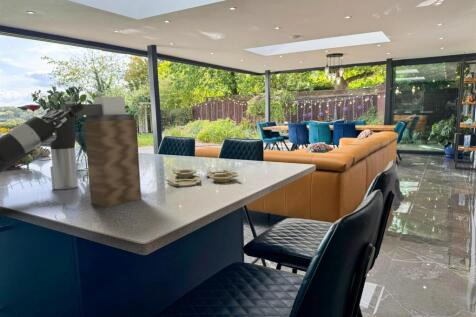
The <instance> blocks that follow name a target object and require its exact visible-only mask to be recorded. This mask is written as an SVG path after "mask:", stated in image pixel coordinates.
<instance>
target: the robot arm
mask: <svg viewBox="0 0 476 317" xmlns="http://www.w3.org/2000/svg"><path fill="white" fill-rule="evenodd" d="M71 104H75V105H74V106H72V107H71V108H68V109H67V110H65V111H61V108H60V109H56V110H51V111H48V112H46V113H45V114H44V115H42V116H41V117H40V116H38V115H36V116H33V117H31V118H30V119H28V120H26V121H25V122H22V123H21V124H19V125H18V126H16V127H14V128H12V129H11V130H10V131H8V132H7V133H6V134H4V135H2V136H0V174H1V173H3V172H4V171H6V170H7V169H9V168H10V167H13V166H14V165H16V164H17V163H18V162H20V161H22V160H23V159H25V158H26V157H28V156H29V155H31V154H32V153H33V152H34V151H35V150H36V149H37V148H38V147H39V146H41V145H42V144H45V143H46V142H47V141H49V140H50V139H52V138H53V137H54V134H56V136H55V139H53V140H52V141H50V155H51V164H52V165H51V166H50V177H51V178H50V179H51V180H50V181H51V188H52V189H55V190H69V189H74V188H75V189H76V188H77V187H79V183H78V182H79V181H78V170H77V169H78V168H77V158H76V148H75V147H76V146H75V144H76V141H77V132H76V130H77V129H76V128H77V125H76V119H75V117H76V116H77V115H75V114H76V113H77V112H79V111H80V110H82V109H83V108H84V107H83V105H82V104H83V103H81V102H77V103H74V102H73V103H71ZM61 114H62V115H61ZM69 114H70V115H69Z"/></svg>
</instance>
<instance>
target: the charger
mask: <svg viewBox="0 0 476 317" xmlns="http://www.w3.org/2000/svg"><path fill="white" fill-rule="evenodd" d="M75 104H76V103H75ZM75 104H72V103H63V104H62V103H61V104H59V105H60V106H59V107H60V109H61V111H65V110H67V109H68V108H71V107H72V106H74V105H75ZM81 104H82V105H83V107H84V108H83V109H82V110H80V111H79V112H77V113H76V114H75V115H76V116H86V115H120V114H126V104H125V96H124V97H123V96H97V97H96V96H95V97H93V104H92V103H90V104H88V103H86V104H85V103H84V104H83V103H81ZM61 115H62V114H61ZM69 115H70V114H69Z"/></svg>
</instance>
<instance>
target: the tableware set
mask: <svg viewBox="0 0 476 317" xmlns="http://www.w3.org/2000/svg"><path fill="white" fill-rule="evenodd" d="M171 170H172V171H173V172H172V174H174V175H176V176H177V178H178V177H179V178H178V179H172V178H168V179H165V182H167V183H169V185H170V186H173V187H180V188H181V187H185V188H187V187H193V186H196V185H199V184H200V183H201V182H200V181H201V180H200V177H199V176H195V177H194V178H192V177H193V176H194V174H196V173H197V172H198V171H197V170H195V169H188V168H187V169H185V168H183V169H178V170H177V168H172V169H171ZM215 173H223V174H215ZM225 173H226V174H225ZM212 174H213V175H212ZM237 174H238V172H235V171H231V170H228V169H223V170H221V171H220V170H219V171H211V170H207V171H206V174H205V178H209V179H212V180H213V182H214V183H217V182H225V183H229V182H230V181H231V180H232V179H233V178H238V175H237ZM189 177H190V178H189Z"/></svg>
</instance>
